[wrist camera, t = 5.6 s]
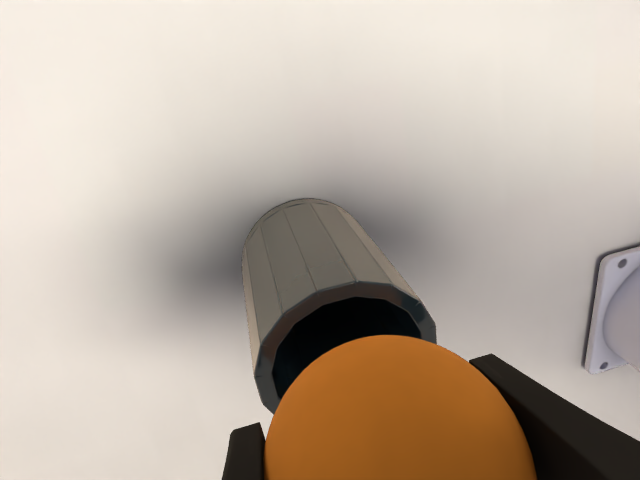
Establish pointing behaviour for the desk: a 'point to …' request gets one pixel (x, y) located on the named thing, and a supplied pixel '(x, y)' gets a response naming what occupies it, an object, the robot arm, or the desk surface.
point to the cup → (318, 292)
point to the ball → (394, 418)
